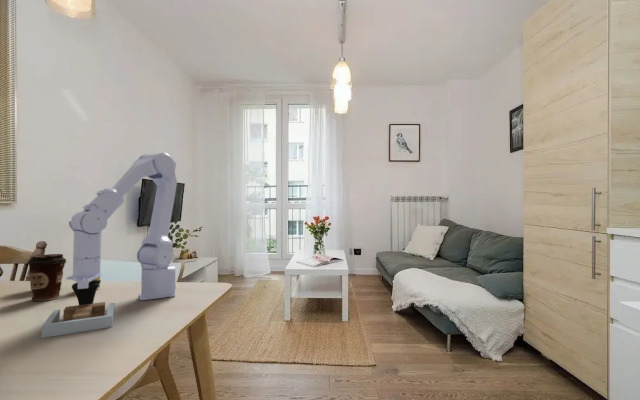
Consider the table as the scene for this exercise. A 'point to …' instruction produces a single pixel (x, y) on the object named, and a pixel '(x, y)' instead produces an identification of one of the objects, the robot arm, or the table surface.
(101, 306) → the t block
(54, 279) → the coffee cup
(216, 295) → the table surface
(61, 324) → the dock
